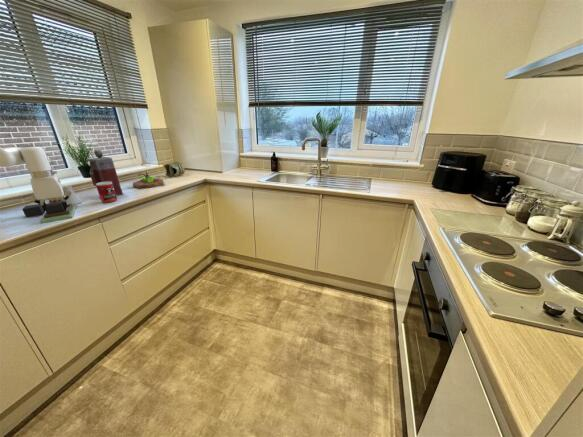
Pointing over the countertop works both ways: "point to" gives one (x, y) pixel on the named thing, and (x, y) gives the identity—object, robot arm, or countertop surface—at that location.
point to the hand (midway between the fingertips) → (57, 210)
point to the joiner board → (60, 214)
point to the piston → (174, 169)
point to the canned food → (106, 192)
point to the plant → (147, 182)
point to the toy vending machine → (104, 171)
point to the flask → (72, 196)
